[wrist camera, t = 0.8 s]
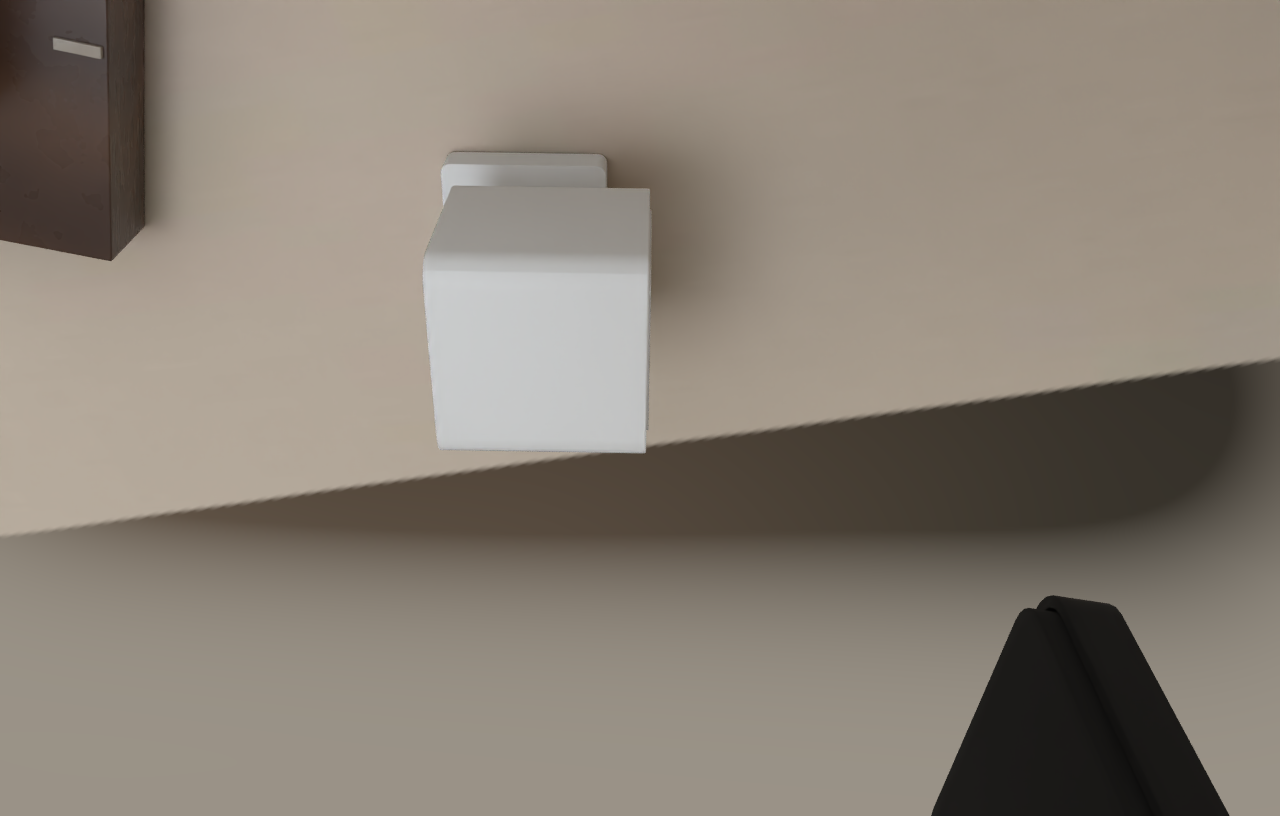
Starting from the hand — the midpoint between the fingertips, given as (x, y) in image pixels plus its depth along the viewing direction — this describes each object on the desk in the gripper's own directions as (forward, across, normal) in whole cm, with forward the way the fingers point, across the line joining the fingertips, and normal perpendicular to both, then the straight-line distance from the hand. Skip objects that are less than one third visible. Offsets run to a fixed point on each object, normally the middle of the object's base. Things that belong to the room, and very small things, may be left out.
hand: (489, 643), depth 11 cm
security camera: (+32, 0, +8) cm, 33 cm away
